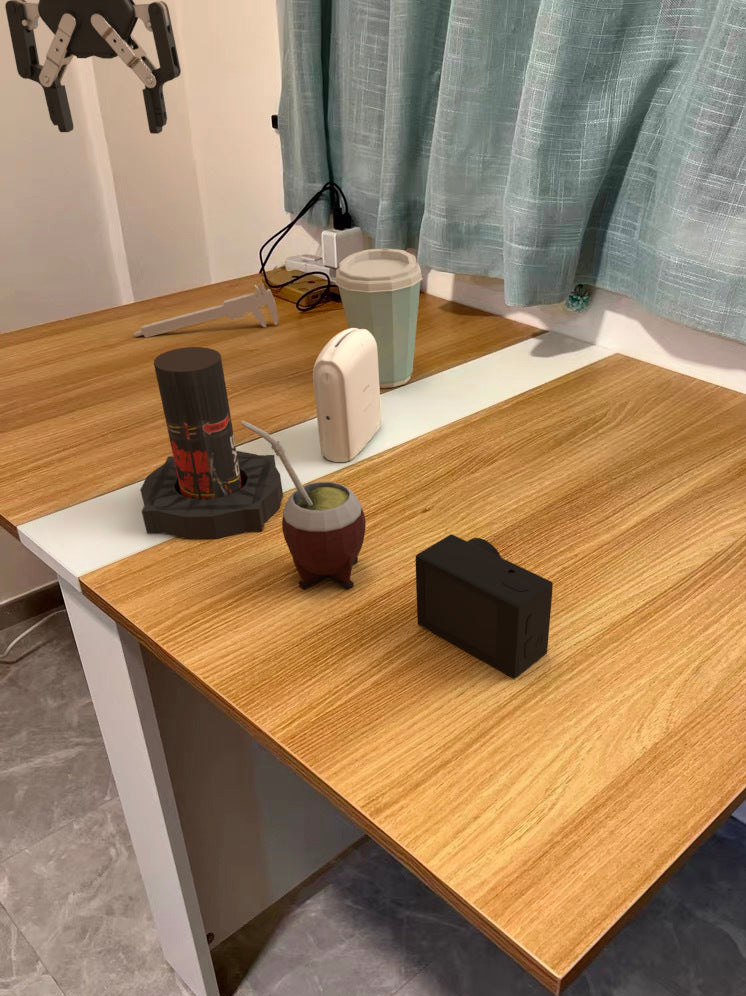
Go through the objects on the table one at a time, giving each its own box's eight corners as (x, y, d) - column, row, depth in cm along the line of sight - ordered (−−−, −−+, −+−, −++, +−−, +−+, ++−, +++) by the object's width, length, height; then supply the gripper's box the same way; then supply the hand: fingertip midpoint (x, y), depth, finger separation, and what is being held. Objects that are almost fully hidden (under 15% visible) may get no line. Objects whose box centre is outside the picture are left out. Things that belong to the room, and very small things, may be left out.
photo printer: (352, 465, 95) (343, 354, 88) (315, 460, 96) (304, 350, 89) (386, 425, 103) (381, 320, 96) (352, 421, 104) (344, 316, 97)
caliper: (278, 324, 131) (273, 281, 127) (278, 326, 130) (273, 283, 126) (135, 336, 127) (125, 292, 124) (134, 338, 126) (124, 294, 123)
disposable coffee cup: (417, 398, 109) (413, 274, 100) (332, 393, 111) (321, 270, 102) (432, 365, 118) (429, 248, 109) (353, 361, 119) (344, 245, 110)
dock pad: (131, 540, 84) (125, 517, 82) (164, 472, 94) (159, 451, 93) (272, 537, 84) (269, 515, 82) (289, 470, 95) (286, 449, 93)
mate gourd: (384, 574, 79) (375, 419, 70) (313, 611, 75) (294, 451, 66) (332, 541, 83) (318, 391, 74) (262, 575, 79) (238, 420, 70)
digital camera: (558, 646, 71) (564, 574, 67) (516, 680, 68) (520, 607, 63) (460, 595, 76) (461, 526, 72) (417, 624, 73) (415, 554, 69)
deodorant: (180, 494, 91) (150, 352, 82) (238, 483, 92) (215, 343, 83) (188, 522, 86) (157, 375, 77) (249, 511, 88) (225, 366, 79)
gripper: (-34, -84, 72) (22, 138, 82) (142, -82, 72) (177, 139, 82) (3, -82, 78) (50, 124, 88) (165, -80, 78) (195, 126, 88)
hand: (112, 131), depth 85 cm, fingers open, 8 cm apart
